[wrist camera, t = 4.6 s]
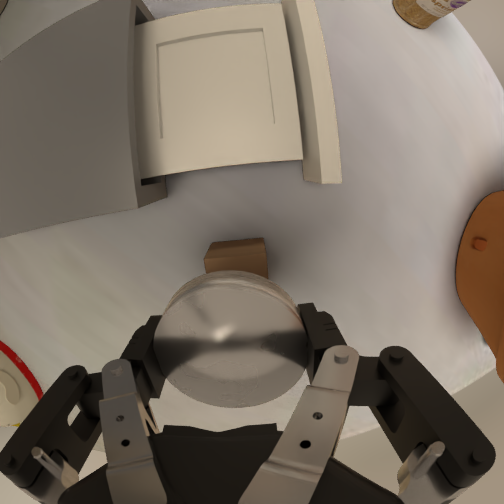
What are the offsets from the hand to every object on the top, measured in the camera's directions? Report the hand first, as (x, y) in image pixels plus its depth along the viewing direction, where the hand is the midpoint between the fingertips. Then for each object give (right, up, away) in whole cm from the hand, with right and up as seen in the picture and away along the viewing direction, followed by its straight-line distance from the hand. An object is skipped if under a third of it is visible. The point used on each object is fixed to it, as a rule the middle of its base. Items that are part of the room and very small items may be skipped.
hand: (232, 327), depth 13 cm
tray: (-3, +16, +5) cm, 17 cm away
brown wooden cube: (0, +3, +9) cm, 9 cm away
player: (-15, +15, +5) cm, 22 cm away
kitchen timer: (-38, -16, +15) cm, 44 cm away
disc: (0, 0, -1) cm, 1 cm away
